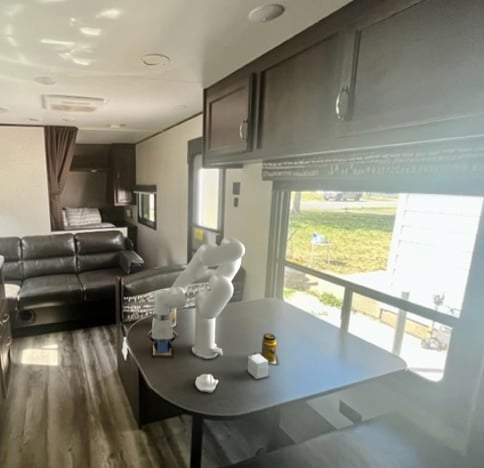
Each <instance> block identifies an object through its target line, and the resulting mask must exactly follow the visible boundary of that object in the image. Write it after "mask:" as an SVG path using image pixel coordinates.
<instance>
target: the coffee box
mask: <svg viewBox="0 0 484 468" xmlns="http://www.w3.org/2000/svg"><path fill="white" fill-rule="evenodd" d="M170 317H171V319H172V326H173V328H174V327H175V326H177V308H172V307H170Z"/></svg>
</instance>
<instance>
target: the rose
mask: <svg viewBox="0 0 484 468" xmlns="http://www.w3.org/2000/svg"><path fill="white" fill-rule="evenodd" d="M194 381H195V382H194V383H195V384H194V385H195V386H196V389H198V390H199V391H200V392H206V393H213V392H214V390H215V389H216V386H217V385H218V383H219V380H218V379H214V376H213V375H212V374H211V373H209V374H207V373H203V374H201V375H200V376H197V377H196V379H195V380H194Z"/></svg>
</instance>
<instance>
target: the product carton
mask: <svg viewBox="0 0 484 468" xmlns="http://www.w3.org/2000/svg"><path fill="white" fill-rule="evenodd" d="M247 372H248V373H249V374H250V375H252V377H253V378H254V379H256V380H258V379H262V378H266V377H268V376H269V363H268V361H267V360H266V359H265V358H264V357H263V356H261V355H260V354H256V353H255V354H252V355H248V356H247Z"/></svg>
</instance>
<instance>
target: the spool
mask: <svg viewBox="0 0 484 468" xmlns="http://www.w3.org/2000/svg"><path fill="white" fill-rule="evenodd" d="M157 351H158V352H160V353H165V352H167V351H168V339H164V342H160V339H157Z"/></svg>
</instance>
